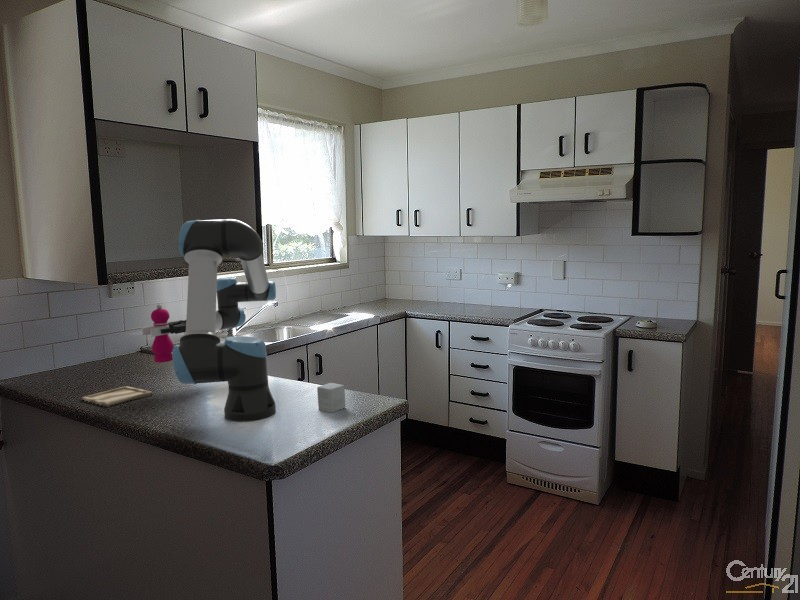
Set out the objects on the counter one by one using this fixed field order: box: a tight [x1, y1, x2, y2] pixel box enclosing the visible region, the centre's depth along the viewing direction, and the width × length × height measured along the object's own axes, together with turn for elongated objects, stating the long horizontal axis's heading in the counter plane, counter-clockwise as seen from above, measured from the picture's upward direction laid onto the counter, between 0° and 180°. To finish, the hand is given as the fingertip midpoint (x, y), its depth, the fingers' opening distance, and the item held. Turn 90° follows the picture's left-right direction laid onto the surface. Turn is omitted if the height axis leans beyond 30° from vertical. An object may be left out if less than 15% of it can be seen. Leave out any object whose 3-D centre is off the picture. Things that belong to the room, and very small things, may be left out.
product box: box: [316, 382, 346, 413], centre depth 181 cm, size 6×6×7 cm
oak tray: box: [81, 385, 153, 407], centre depth 204 cm, size 16×16×1 cm
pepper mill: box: [150, 303, 175, 363], centre depth 208 cm, size 7×7×20 cm
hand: (146, 332), depth 204 cm, fingers closed on pepper mill, 5 cm apart
